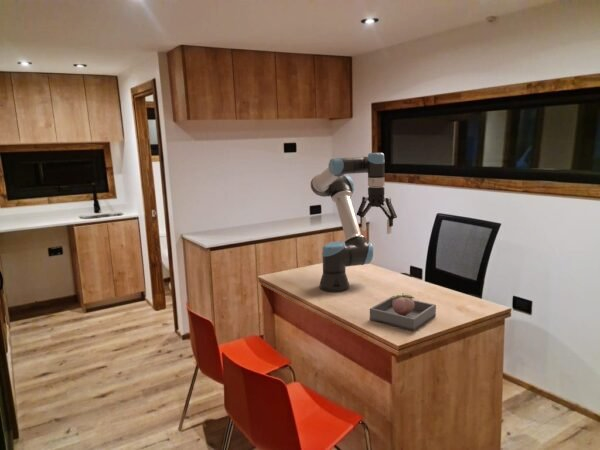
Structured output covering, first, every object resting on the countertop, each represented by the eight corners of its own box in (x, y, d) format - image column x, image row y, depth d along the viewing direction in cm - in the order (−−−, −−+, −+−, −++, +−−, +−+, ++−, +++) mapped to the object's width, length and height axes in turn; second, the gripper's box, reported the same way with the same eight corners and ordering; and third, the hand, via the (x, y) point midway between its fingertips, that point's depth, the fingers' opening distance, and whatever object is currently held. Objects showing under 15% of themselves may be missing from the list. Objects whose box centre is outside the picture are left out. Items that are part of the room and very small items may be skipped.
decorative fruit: (409, 311, 195) (410, 289, 194) (416, 318, 187) (417, 295, 186) (388, 312, 194) (388, 290, 193) (394, 320, 186) (394, 296, 185)
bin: (369, 320, 190) (369, 308, 189) (393, 306, 205) (393, 295, 204) (413, 331, 177) (413, 319, 176) (435, 316, 192) (435, 304, 191)
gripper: (349, 186, 214) (349, 230, 218) (396, 188, 198) (396, 236, 202) (357, 185, 220) (358, 228, 224) (404, 186, 204) (404, 233, 208)
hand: (376, 232), depth 213 cm, fingers open, 13 cm apart
